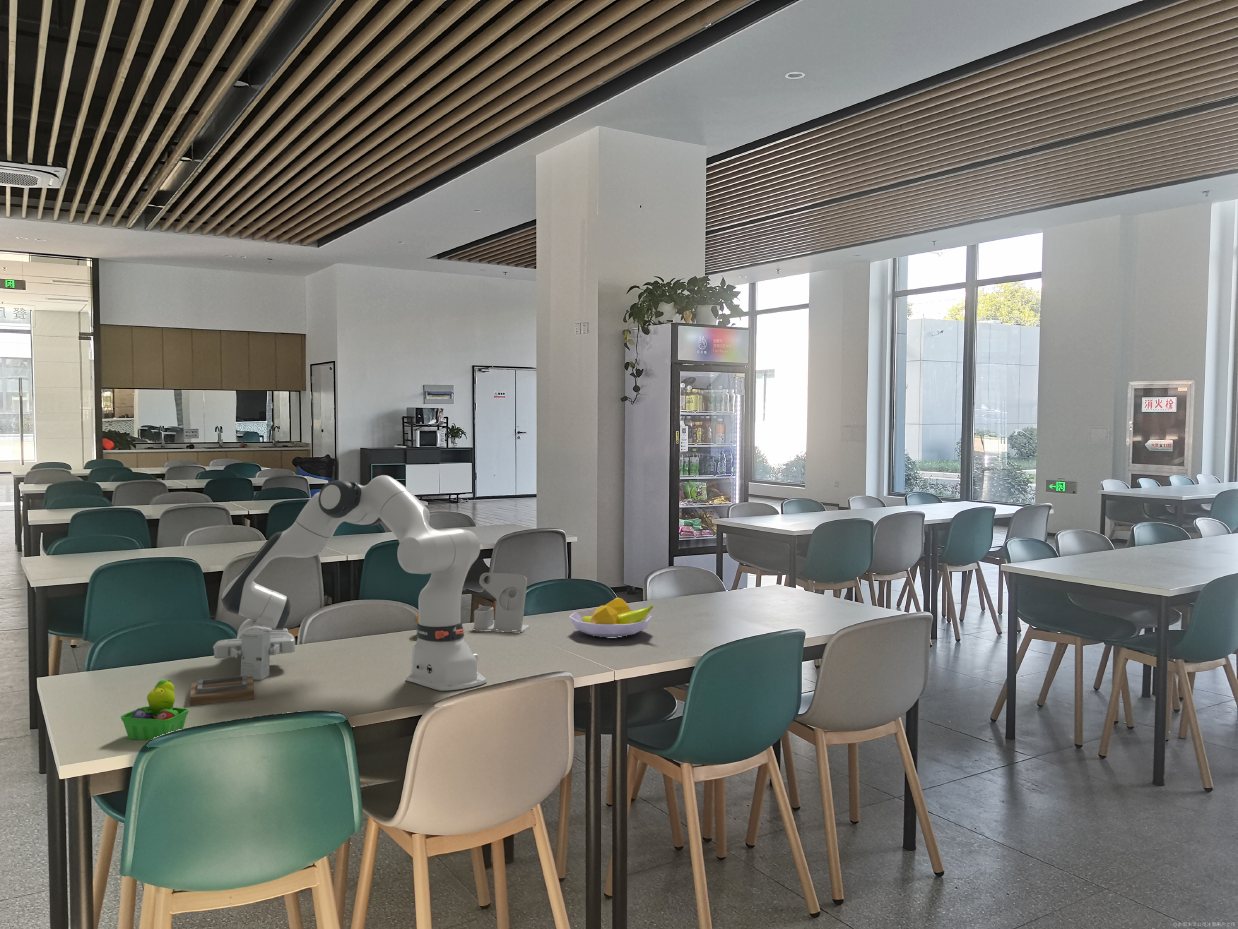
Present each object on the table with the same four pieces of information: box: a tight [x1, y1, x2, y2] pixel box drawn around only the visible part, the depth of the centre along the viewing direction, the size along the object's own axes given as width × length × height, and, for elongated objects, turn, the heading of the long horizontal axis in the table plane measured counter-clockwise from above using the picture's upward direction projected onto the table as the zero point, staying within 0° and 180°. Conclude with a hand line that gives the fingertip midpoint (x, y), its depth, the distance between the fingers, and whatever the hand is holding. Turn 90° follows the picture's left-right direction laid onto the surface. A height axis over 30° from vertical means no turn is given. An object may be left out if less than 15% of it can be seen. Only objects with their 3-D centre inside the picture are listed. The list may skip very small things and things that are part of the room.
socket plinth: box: [189, 675, 255, 706], centre depth 220 cm, size 14×14×3 cm
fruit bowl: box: [568, 597, 654, 638], centre depth 291 cm, size 28×27×11 cm
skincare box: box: [240, 630, 271, 681], centre depth 236 cm, size 6×4×12 cm
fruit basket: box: [120, 679, 190, 741], centre depth 190 cm, size 11×9×11 cm
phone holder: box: [472, 572, 530, 632], centre depth 298 cm, size 17×10×18 cm, turn 78°
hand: (255, 653), depth 235 cm, fingers closed on skincare box, 7 cm apart
